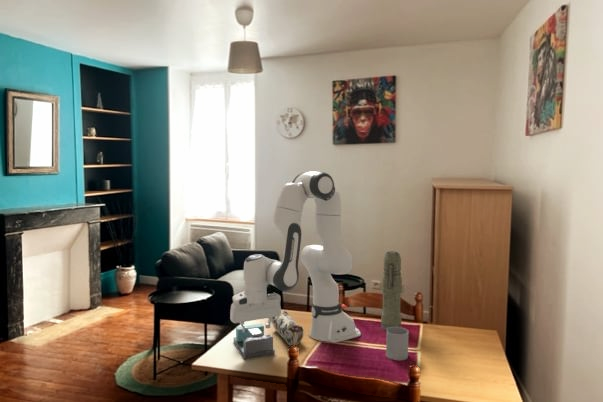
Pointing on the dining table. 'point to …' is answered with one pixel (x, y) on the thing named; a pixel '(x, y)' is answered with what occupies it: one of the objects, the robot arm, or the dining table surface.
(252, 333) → the steel block
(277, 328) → the pencil case
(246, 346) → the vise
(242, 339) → the bar
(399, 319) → the grey-green stone column
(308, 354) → the dining table surface
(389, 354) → the cup
